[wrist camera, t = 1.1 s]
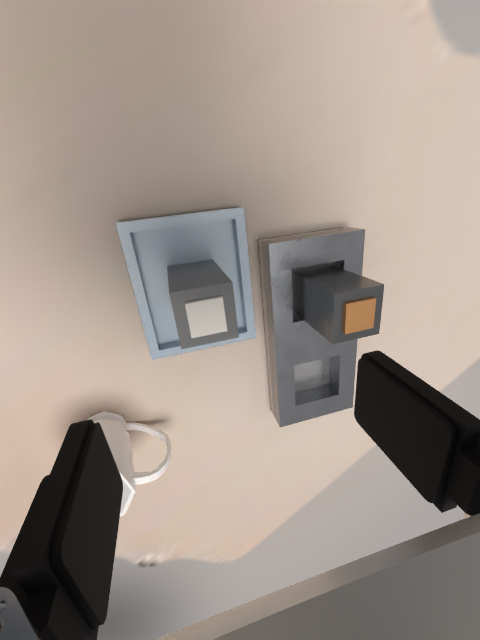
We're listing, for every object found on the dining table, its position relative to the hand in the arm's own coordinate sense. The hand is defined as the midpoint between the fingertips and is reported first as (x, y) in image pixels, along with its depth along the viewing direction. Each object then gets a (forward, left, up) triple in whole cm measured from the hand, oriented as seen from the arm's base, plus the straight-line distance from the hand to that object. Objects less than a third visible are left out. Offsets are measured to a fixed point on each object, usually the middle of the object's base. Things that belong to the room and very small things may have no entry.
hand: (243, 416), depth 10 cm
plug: (0, 0, -18) cm, 18 cm away
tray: (0, 0, -18) cm, 18 cm away
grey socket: (+7, +11, -18) cm, 22 cm away
